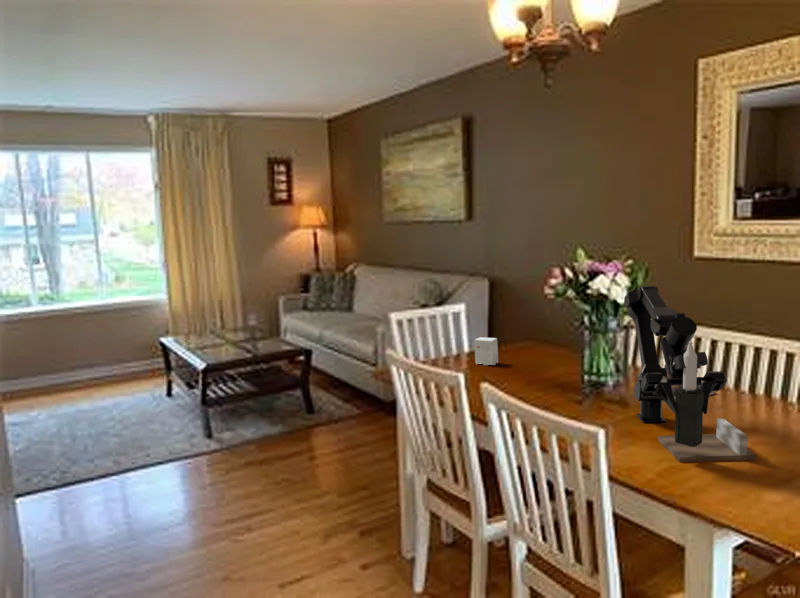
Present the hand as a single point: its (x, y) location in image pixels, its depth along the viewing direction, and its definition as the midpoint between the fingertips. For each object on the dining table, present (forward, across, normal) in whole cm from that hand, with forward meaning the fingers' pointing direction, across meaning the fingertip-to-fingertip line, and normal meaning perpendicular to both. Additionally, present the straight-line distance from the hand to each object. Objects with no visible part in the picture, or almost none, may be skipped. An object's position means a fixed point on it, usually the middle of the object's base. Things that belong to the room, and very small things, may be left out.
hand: (691, 413), depth 143 cm
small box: (-60, -45, +80) cm, 110 cm away
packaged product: (-29, +17, +48) cm, 58 cm away
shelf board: (+3, +6, +14) cm, 16 cm away
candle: (+5, 0, +6) cm, 8 cm away
